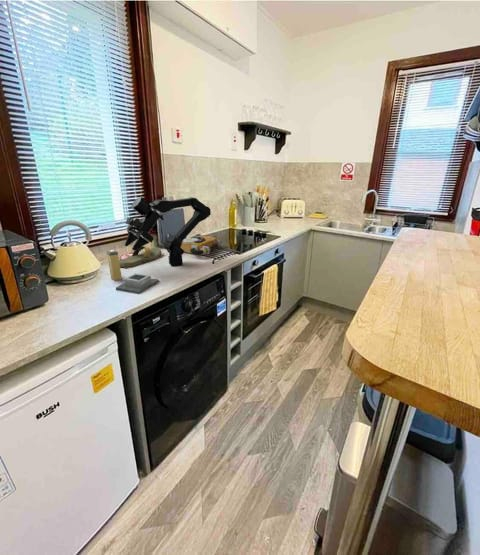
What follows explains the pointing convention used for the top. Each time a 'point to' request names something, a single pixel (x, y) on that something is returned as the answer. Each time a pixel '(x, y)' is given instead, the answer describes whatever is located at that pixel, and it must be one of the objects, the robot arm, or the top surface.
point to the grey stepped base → (137, 283)
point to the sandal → (140, 257)
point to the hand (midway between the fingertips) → (129, 247)
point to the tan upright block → (114, 264)
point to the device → (199, 244)
